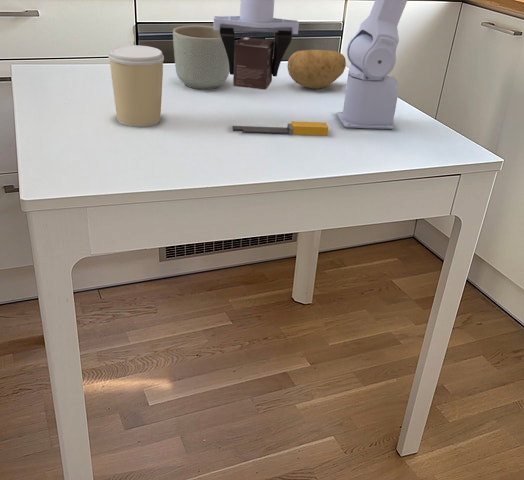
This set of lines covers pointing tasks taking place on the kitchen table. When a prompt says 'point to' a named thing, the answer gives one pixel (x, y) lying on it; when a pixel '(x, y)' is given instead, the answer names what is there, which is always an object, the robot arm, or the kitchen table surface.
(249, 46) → the box
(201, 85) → the planter
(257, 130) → the knife
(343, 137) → the kitchen table surface
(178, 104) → the kitchen table surface
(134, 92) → the coffee cup
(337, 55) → the potato
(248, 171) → the kitchen table surface
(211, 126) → the kitchen table surface
